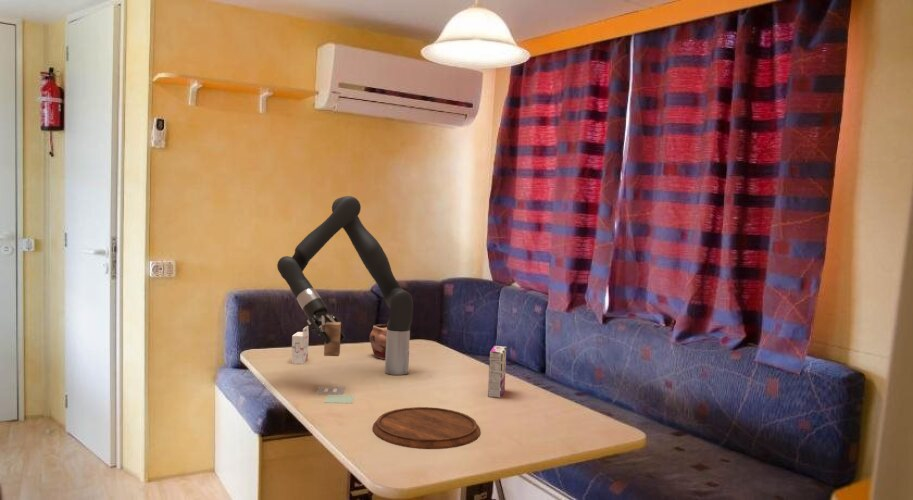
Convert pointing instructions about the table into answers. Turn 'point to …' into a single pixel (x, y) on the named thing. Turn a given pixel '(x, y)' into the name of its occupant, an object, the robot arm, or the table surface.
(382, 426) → the cutting board
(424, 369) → the table surface
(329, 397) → the sage mat
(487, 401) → the table surface
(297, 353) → the ink cartridge box
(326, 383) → the table surface
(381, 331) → the decorative planter
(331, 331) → the walnut block
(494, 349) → the candy bar box
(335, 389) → the tile
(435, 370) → the table surface
